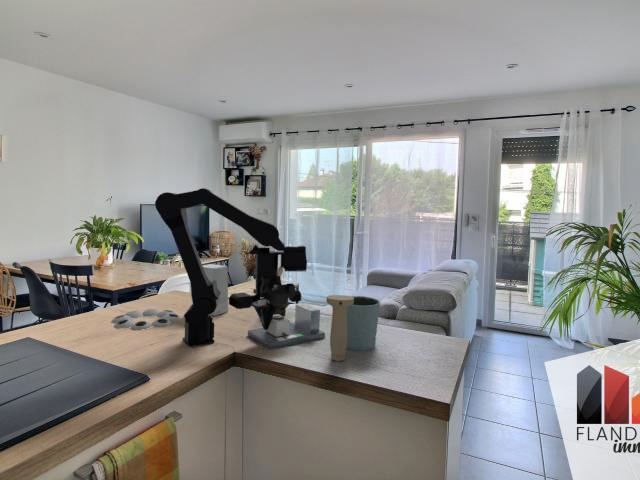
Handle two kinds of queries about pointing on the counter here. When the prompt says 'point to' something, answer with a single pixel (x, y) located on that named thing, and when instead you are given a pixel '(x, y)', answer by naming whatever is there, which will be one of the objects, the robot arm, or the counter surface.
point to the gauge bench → (293, 329)
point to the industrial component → (281, 310)
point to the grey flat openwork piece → (127, 318)
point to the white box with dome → (279, 326)
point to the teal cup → (362, 323)
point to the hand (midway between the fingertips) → (265, 329)
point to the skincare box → (219, 285)
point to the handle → (339, 325)
